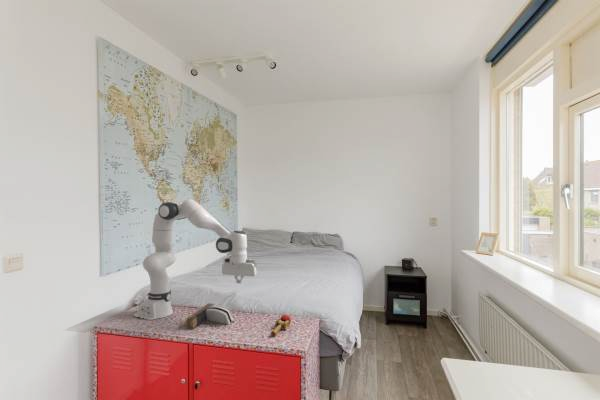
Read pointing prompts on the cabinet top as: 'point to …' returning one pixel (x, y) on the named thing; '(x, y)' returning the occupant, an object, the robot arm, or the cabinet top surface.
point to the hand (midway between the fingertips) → (239, 283)
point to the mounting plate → (202, 316)
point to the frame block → (194, 318)
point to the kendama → (281, 324)
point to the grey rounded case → (219, 315)
